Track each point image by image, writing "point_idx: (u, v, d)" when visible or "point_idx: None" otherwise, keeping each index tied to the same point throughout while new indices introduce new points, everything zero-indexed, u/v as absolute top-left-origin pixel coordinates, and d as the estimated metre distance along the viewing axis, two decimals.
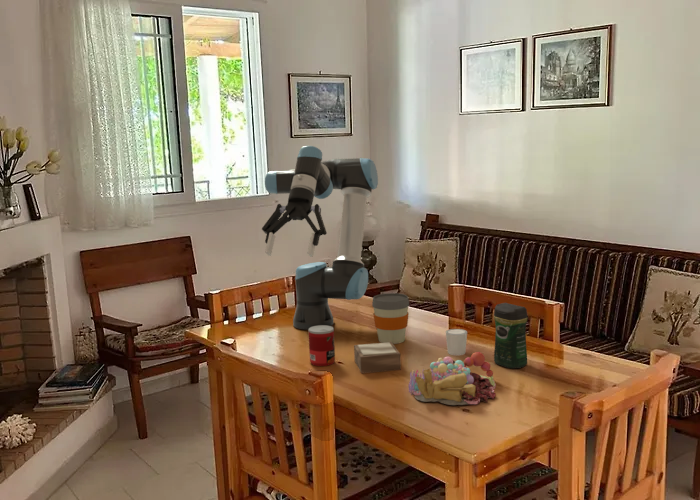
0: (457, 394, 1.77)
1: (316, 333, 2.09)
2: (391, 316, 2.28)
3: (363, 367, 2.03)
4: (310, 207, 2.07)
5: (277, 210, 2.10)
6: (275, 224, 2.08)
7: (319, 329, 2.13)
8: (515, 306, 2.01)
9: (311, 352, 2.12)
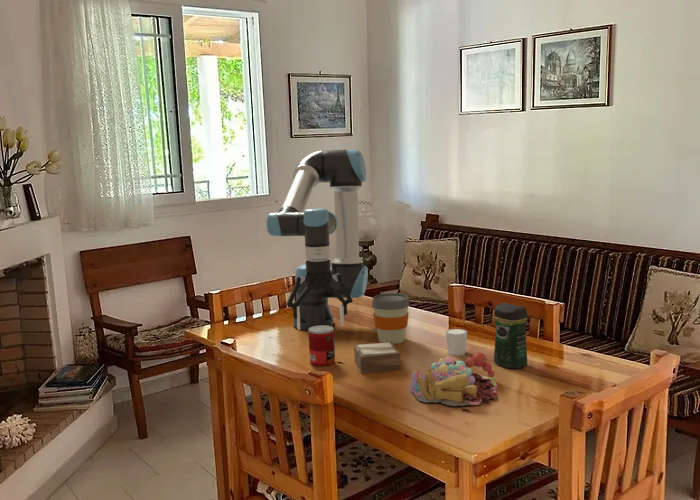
0: (459, 395, 1.76)
1: (316, 333, 2.09)
2: (391, 316, 2.28)
3: (363, 367, 2.03)
4: (332, 277, 2.10)
5: (298, 284, 2.08)
6: (300, 299, 2.09)
7: (319, 329, 2.13)
8: (515, 306, 2.01)
9: (311, 352, 2.12)
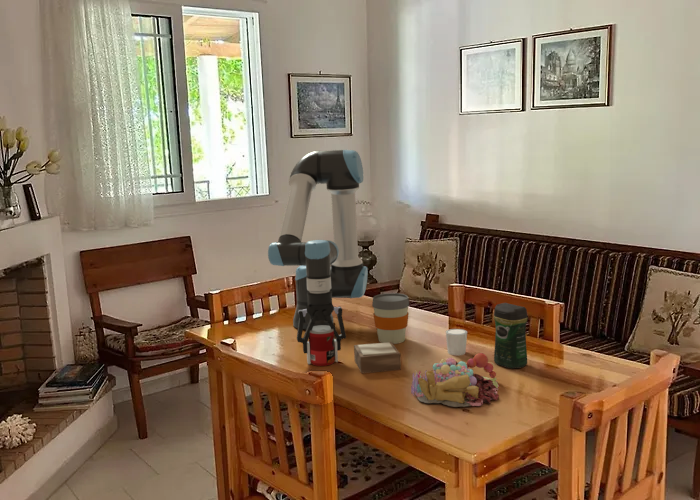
0: (460, 396, 1.75)
1: (316, 333, 2.09)
2: (391, 316, 2.28)
3: (363, 367, 2.03)
4: (333, 309, 2.12)
5: (302, 318, 2.10)
6: (308, 333, 2.11)
7: (319, 329, 2.13)
8: (515, 306, 2.01)
9: (311, 352, 2.12)
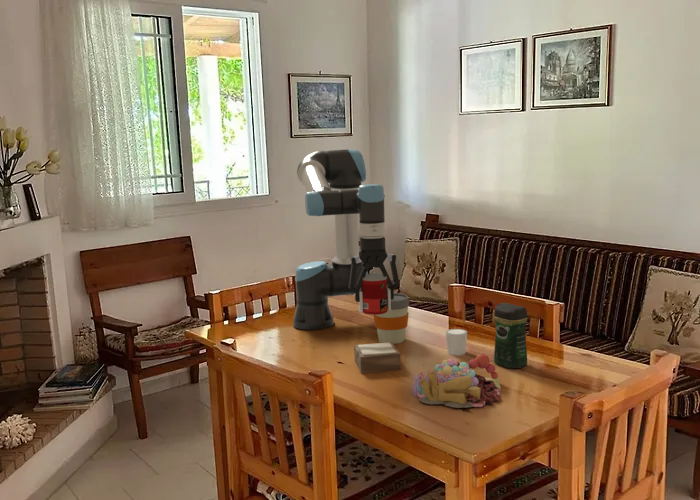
0: (462, 397, 1.75)
1: (370, 280, 2.02)
2: (391, 316, 2.28)
3: (363, 367, 2.03)
4: (387, 256, 2.04)
5: (355, 265, 2.03)
6: (361, 281, 2.04)
7: (372, 277, 2.06)
8: (515, 306, 2.01)
9: (364, 300, 2.05)
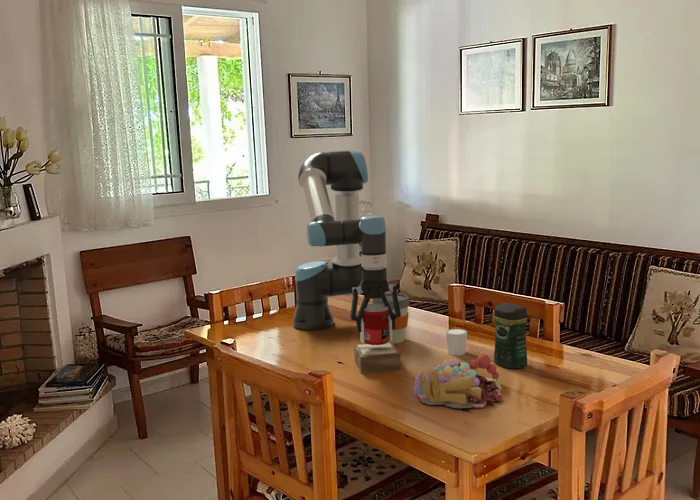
0: (463, 397, 1.74)
1: (372, 311, 2.03)
2: None
3: (363, 367, 2.03)
4: (388, 287, 2.06)
5: (356, 296, 2.04)
6: (362, 312, 2.05)
7: (373, 307, 2.07)
8: (515, 306, 2.01)
9: (365, 331, 2.06)
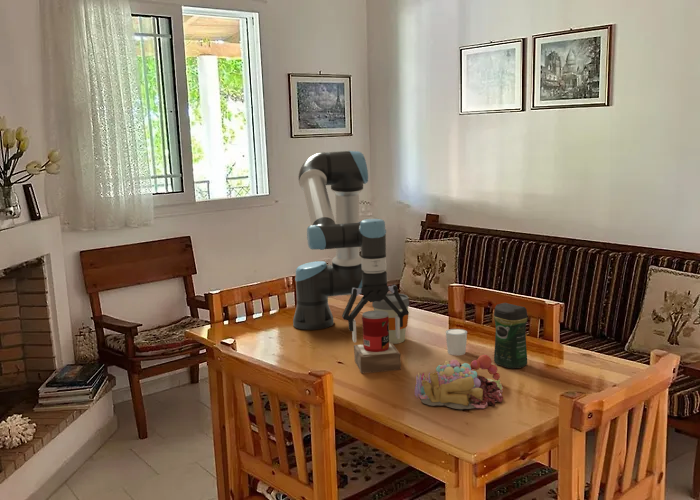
0: (464, 398, 1.74)
1: (371, 318, 2.04)
2: (391, 316, 2.28)
3: (363, 367, 2.03)
4: (388, 289, 2.06)
5: (354, 296, 2.04)
6: (356, 312, 2.05)
7: (373, 314, 2.08)
8: (515, 306, 2.01)
9: (365, 338, 2.07)
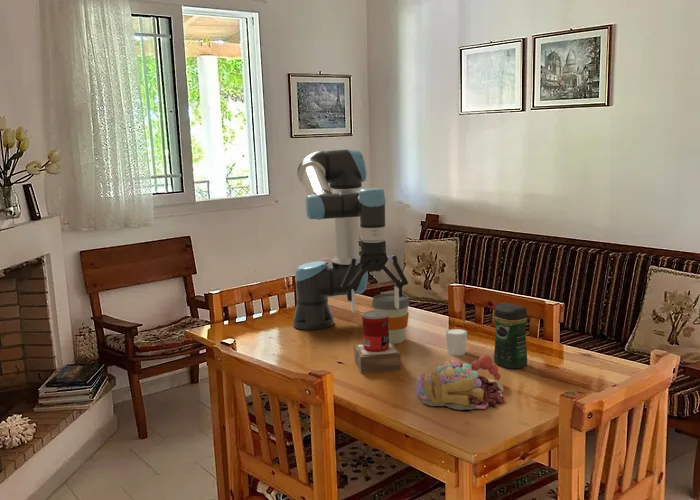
0: (465, 398, 1.74)
1: (372, 318, 2.04)
2: (391, 316, 2.28)
3: (363, 367, 2.03)
4: (387, 259, 2.05)
5: (353, 266, 2.03)
6: (355, 281, 2.04)
7: (373, 314, 2.08)
8: (515, 306, 2.01)
9: (365, 338, 2.07)
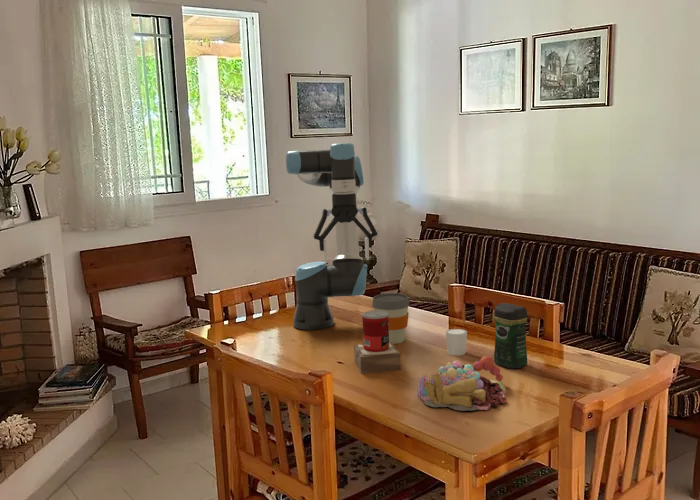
0: (467, 399, 1.73)
1: (372, 318, 2.04)
2: (391, 316, 2.28)
3: (363, 367, 2.03)
4: (357, 210, 2.16)
5: (325, 217, 2.14)
6: (327, 232, 2.15)
7: (373, 314, 2.08)
8: (515, 306, 2.01)
9: (365, 338, 2.07)
